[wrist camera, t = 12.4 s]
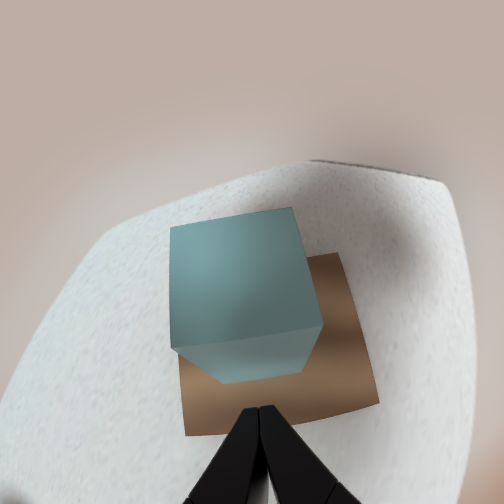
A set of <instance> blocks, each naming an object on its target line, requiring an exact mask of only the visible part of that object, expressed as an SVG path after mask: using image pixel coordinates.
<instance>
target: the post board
mask: <svg viewBox="0 0 504 504" xmlns="http://www.w3.org/2000/svg"><path fill="white" fill-rule="evenodd" d="M306 259H307V262H308V266H309V270H310V274H311V277H312V281H313V285H314V289H315V293H316V296H317V300H318V304H319V308H320V312H321V316H322V320H323V324H324V325H323V327H322V330H321V332H320V334H319V336H318V338H317V340H316V343H315V345H314V347H313V349H312V351H311V353H310V355H309V357H308V359H307V362H306V364H305V366H304V368H303V370H302V372H300V373H294V374H289V375H284V376H278V377H272V378H266V379H259V380H252V381H245V382H237V383H229V384H222V383H221V382H219V381H218V380H216V379H215V378H213V377H212V376H210V375H209V374H207V373H206V372H204V371H203V370H201V369H200V368H198V367H197V366H195V365H194V364H193V363H191V362H190V361H188V360H187V359H185V358H184V357H183V356H181V355H180V354H178V359H179V374H180V386H181V398H182V408H183V418H184V426H185V435H186V436H205V435H220V434H228V433H229V431H230V430H231V428H232V426H233V425H234V423H235V421H236V420H237V418H238V416H239V415H240V413H241V411H242V410H243V409H244V408H249V407H258V408H259V407H260V406H264V405H271V404H273V405H275V406H276V408H277V409H278V410H279V411H280V413H281V414H282V415H283V416H284V418H285V419H286V420H287V421H288V423H289V424H290V425H296V424H301V423H306V422H311V421H316V420H320V419H324V418H329V417H333V416H337V415H341V414H344V413H348V412H352V411H355V410H359V409H362V408H366V407H369V406H372V405H375V404H378V403H380V402H379V398H378V393H377V389H376V384H375V380H374V376H373V372H372V368H371V364H370V360H369V356H368V352H367V348H366V344H365V340H364V337H363V333H362V329H361V326H360V322H359V319H358V315H357V312H356V308H355V305H354V302H353V298H352V295H351V292H350V289H349V285H348V282H347V279H346V276H345V273H344V270H343V267H342V264H341V261H340V258H339V255H338V252H337V253H331V254H325V255H320V256H314V257H308V258H306Z"/></svg>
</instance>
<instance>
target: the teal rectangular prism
mask: <svg viewBox="0 0 504 504" xmlns="http://www.w3.org/2000/svg"><path fill="white" fill-rule="evenodd" d="M169 304H170V340H171V348H172V349H173V350H174V351H176V352H177V353H178V354H180V355H181V356H183V357H184V358H185V359H187V360H188V361H190V362H191V363H193V364H194V365H195V366H197V367H198V368H200V369H201V370H203V371H204V372H206V373H207V374H209V375H210V376H212V377H213V378H215V379H216V380H218V381H219V382H221V383H222V384H229V383H237V382H245V381H252V380H259V379H266V378H272V377H278V376H284V375H289V374H294V373H300V372H302V370H303V368H304V366H305V364H306V362H307V359H308V357H309V355H310V353H311V351H312V349H313V347H314V345H315V343H316V340H317V338H318V336H319V334H320V332H321V330H322V327H323V325H324V324H323V320H322V316H321V312H320V308H319V304H318V300H317V296H316V293H315V289H314V285H313V281H312V277H311V274H310V270H309V266H308V262H307V259H306V255H305V252H304V248H303V244H302V241H301V237H300V234H299V230H298V227H297V224H296V220H295V217H294V213H293V210H292V207H288V208H282V209H275V210H269V211H262V212H256V213H250V214H244V215H237V216H231V217H226V218H220V219H214V220H208V221H203V222H197V223H191V224H186V225H181V226H175V227H170V263H169Z"/></svg>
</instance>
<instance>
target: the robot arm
mask: <svg viewBox="0 0 504 504" xmlns="http://www.w3.org/2000/svg"><path fill="white" fill-rule="evenodd" d="M268 472H269V474H268ZM269 476H270V480H271V484H272V487H273V491H274V494H275V498H276V501H277V504H362V503H361V502H360V501H359V500H358V499H357V498H356V497H354V496H353V495H352V494H351V493H350V492H349V491H348V490H347V489H346V488H345V487H344V485H343V484H342V483H341V482H338V479H337V478H336V477H335V476H334V475H333V474H332V473H331V472H330V471H329V469H328V468H327V467H326V466H325V465H324V464H323V463H322V462H321V460H320V459H319V458H318V457H317V456H316V455H315V454H314V452H313V451H312V450H311V449H310V448H309V447H308V445H307V444H306V443H305V442H304V441H303V440H302V438H301V437H300V436H299V435H298V434H297V432H296V431H295V430H294V429H293V428H292V426H291V425H290V424H289V423H288V421H287V420H286V419H285V418H284V416H283V415H282V414H281V413H280V411H279V410H278V409H277V408H276V406H275V405H273V404H271V405H264V406H260V407H259V408H258V407H249V408H244V409H243V410H242V411H241V413H240V415H239V416H238V418H237V420H236V421H235V423H234V425H233V426H232V428H231V430H230V431H229V433H228V435H227V436H226V438H225V440H224V441H223V443H222V444H221V446H220V448H219V449H218V451H217V452H216V454H215V456H214V457H213V459H212V460H211V462H210V464H209V465H208V467H207V468H206V470H205V471H204V473H203V474H202V476H201V477H200V479H199V480H198V482H197V483H196V485H195V486H194V488H193V489H192V491H191V492H190V494H189V495H188V497H189V498H186V499H185V501H184V502H183V504H268V488H269Z"/></svg>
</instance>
